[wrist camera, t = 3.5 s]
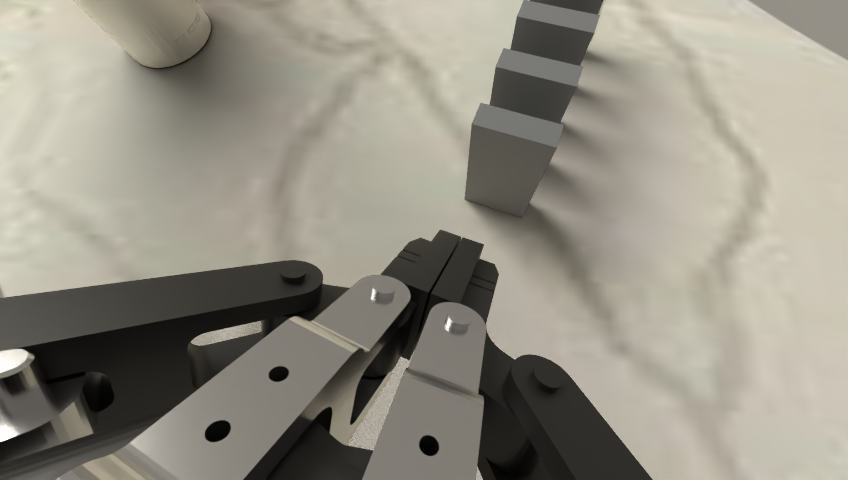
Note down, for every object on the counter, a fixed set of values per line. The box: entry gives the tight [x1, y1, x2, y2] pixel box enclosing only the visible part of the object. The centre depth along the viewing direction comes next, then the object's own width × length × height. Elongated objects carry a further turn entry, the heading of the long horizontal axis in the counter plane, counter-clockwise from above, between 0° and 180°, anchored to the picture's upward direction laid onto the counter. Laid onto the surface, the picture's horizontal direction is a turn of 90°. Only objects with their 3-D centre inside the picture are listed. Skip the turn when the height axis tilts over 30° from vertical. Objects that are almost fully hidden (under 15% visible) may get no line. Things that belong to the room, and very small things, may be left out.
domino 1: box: [530, 0, 603, 15], centre depth 29 cm, size 5×2×10 cm, turn 68°
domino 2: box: [511, 0, 600, 66], centre depth 27 cm, size 5×2×10 cm, turn 68°
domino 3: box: [490, 48, 583, 124], centre depth 26 cm, size 5×2×10 cm, turn 68°
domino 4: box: [465, 103, 564, 218], centre depth 25 cm, size 5×2×10 cm, turn 68°
